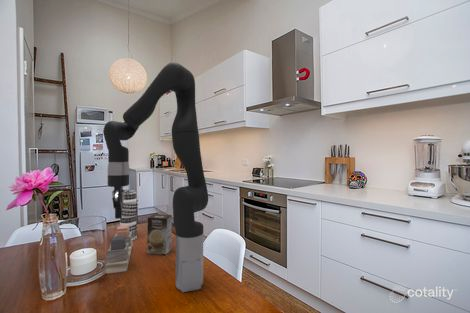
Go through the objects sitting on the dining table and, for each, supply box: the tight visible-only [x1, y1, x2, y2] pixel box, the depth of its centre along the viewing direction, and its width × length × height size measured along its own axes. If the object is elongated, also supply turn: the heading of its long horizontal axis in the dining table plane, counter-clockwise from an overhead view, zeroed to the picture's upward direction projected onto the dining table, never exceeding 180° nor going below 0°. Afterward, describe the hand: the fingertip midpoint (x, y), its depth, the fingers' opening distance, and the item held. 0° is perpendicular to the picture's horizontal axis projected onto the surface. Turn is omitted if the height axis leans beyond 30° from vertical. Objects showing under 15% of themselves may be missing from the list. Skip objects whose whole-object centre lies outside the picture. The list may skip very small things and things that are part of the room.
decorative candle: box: [118, 188, 139, 241], centre depth 120 cm, size 9×9×25 cm
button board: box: [105, 232, 133, 275], centre depth 97 cm, size 24×7×8 cm, turn 19°
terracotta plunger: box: [116, 225, 129, 236], centre depth 103 cm, size 4×4×5 cm
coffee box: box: [146, 213, 173, 256], centre depth 104 cm, size 9×6×16 cm
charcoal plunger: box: [110, 236, 125, 250], centre depth 90 cm, size 4×4×5 cm
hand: (118, 217), depth 90 cm, fingers closed
